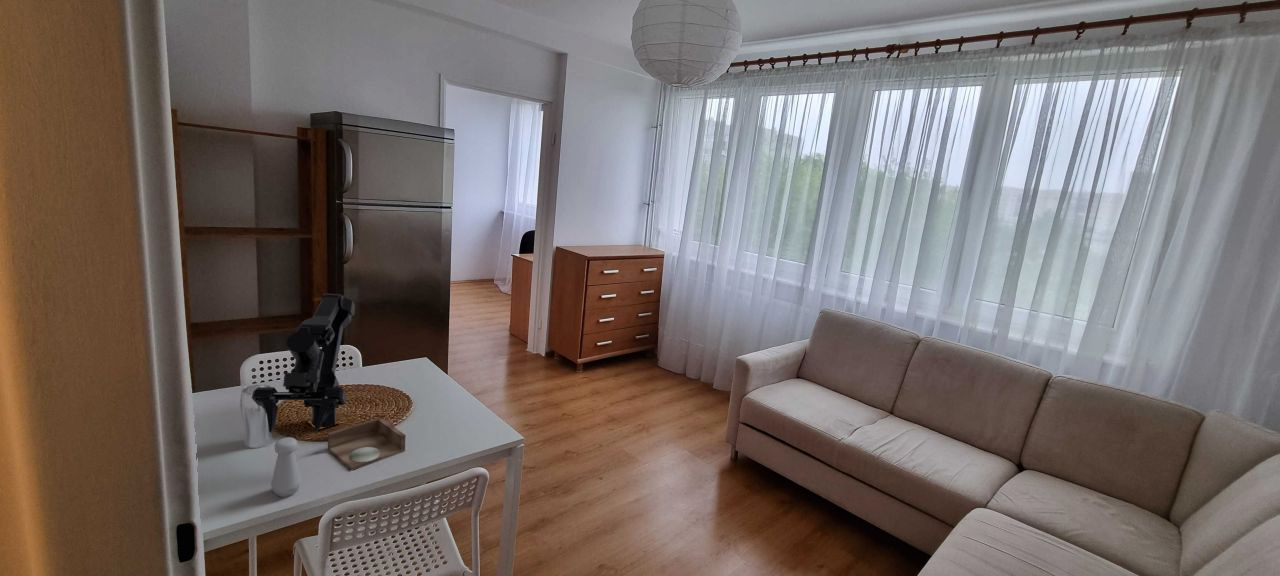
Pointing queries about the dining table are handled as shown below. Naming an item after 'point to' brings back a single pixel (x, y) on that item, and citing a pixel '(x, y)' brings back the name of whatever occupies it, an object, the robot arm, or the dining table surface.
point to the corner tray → (366, 443)
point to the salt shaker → (286, 468)
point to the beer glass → (254, 419)
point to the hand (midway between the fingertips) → (293, 431)
